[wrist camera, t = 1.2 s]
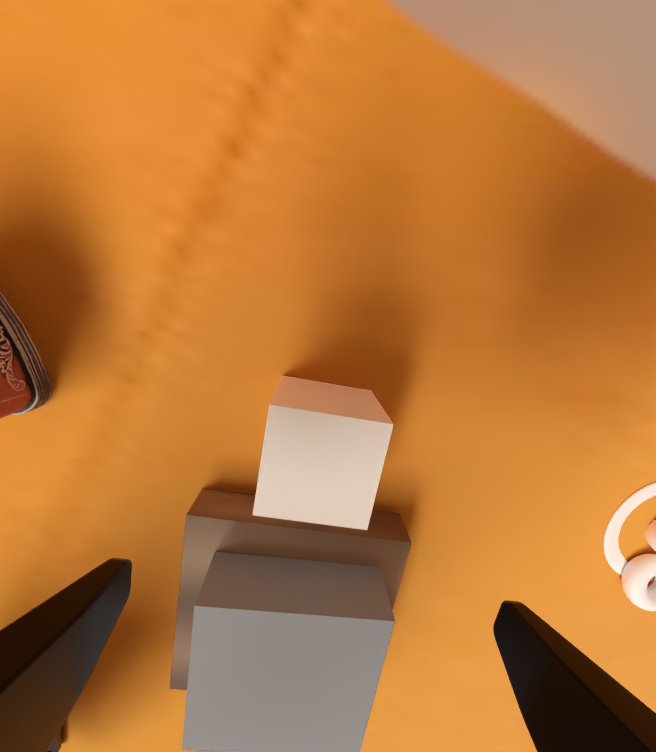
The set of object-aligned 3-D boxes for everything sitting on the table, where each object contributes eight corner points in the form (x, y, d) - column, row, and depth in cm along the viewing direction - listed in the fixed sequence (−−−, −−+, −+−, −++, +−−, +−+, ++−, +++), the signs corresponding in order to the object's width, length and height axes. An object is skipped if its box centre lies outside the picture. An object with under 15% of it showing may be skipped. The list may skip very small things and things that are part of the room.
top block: (351, 686, 19) (358, 756, 16) (202, 678, 18) (182, 750, 15) (380, 567, 17) (395, 621, 14) (215, 551, 16) (194, 605, 13)
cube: (352, 469, 18) (367, 530, 13) (268, 457, 18) (252, 515, 13) (370, 390, 17) (393, 424, 12) (282, 374, 17) (269, 404, 12)
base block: (358, 651, 22) (365, 703, 19) (189, 635, 21) (169, 688, 18) (396, 507, 20) (411, 542, 17) (206, 481, 19) (186, 515, 16)
